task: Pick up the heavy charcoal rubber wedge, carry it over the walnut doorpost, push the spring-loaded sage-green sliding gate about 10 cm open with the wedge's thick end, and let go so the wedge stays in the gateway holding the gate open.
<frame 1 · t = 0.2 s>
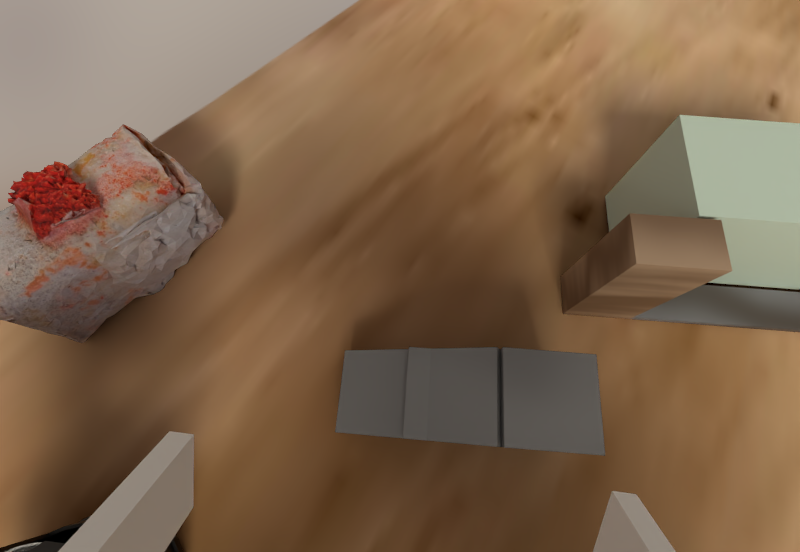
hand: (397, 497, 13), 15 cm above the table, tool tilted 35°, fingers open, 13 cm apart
wall frame: (713, 306, 32), on the table
food item: (142, 262, 32), on the table
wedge: (446, 401, 29), on the table
gate: (750, 207, 29), point 5 cm above the table, slide at 0.0 cm
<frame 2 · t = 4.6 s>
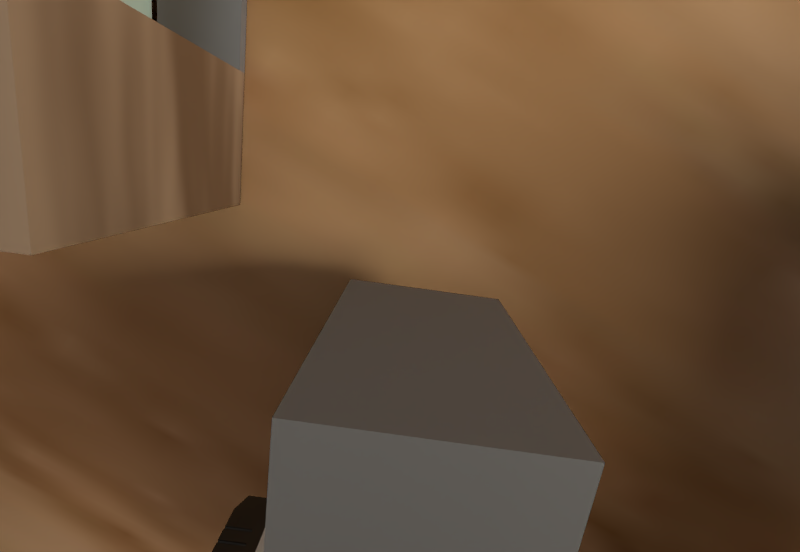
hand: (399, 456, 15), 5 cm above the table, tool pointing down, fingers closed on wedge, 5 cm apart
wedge: (397, 465, 16), point 4 cm above the table, touching gripper
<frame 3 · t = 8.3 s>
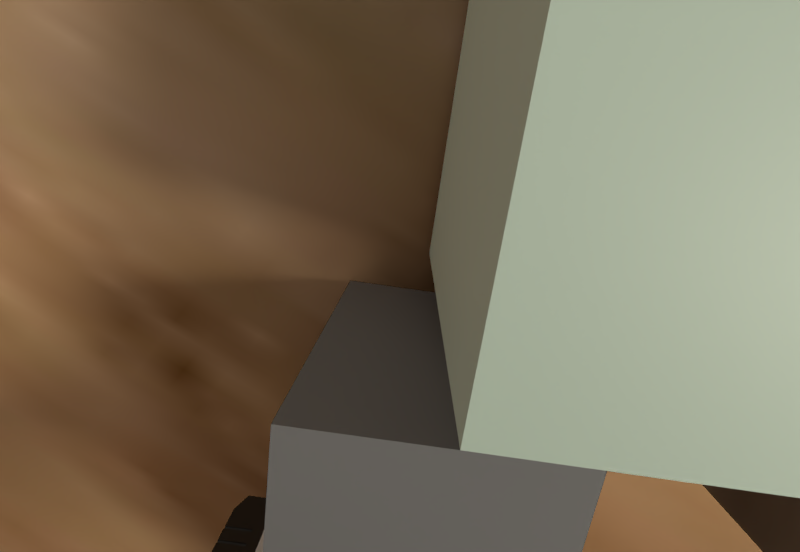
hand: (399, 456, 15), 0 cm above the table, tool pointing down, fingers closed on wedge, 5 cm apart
wall frame: (783, 33, 12), on the table
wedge: (396, 467, 16), on the table, touching gripper
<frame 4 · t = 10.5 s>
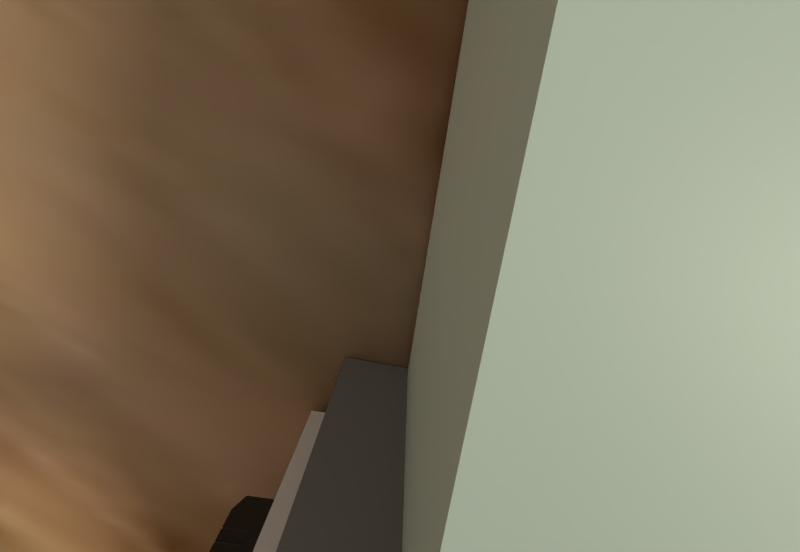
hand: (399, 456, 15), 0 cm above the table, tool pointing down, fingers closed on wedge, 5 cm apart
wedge: (383, 529, 16), on the table, touching gripper
gate: (633, 152, 8), point 5 cm above the table, slide at 6.0 cm
when the fingers open (0 cm above the table, at t = 12.4 s): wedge stays where it is, on the table.
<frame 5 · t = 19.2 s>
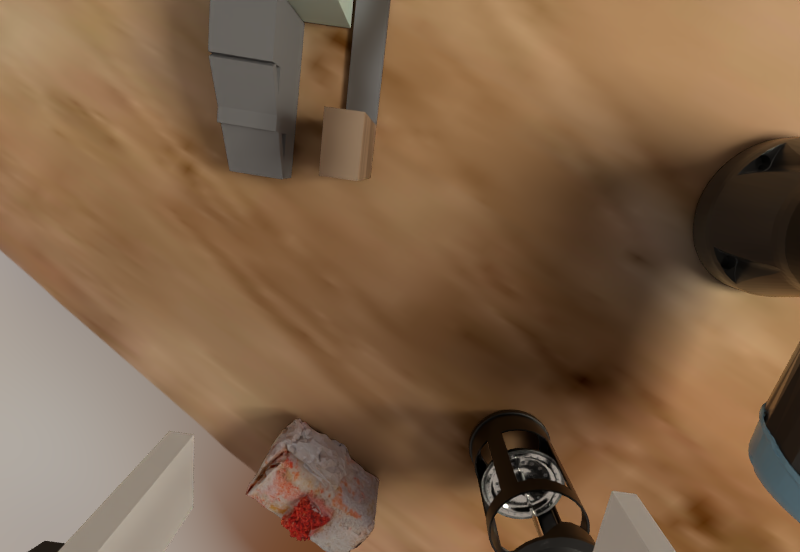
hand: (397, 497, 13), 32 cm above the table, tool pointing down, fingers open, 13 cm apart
wall frame: (368, 49, 39), on the table
food item: (326, 457, 50), on the table
french press: (510, 447, 49), on the table
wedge: (272, 100, 40), on the table
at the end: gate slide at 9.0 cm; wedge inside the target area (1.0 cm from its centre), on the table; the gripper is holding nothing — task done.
